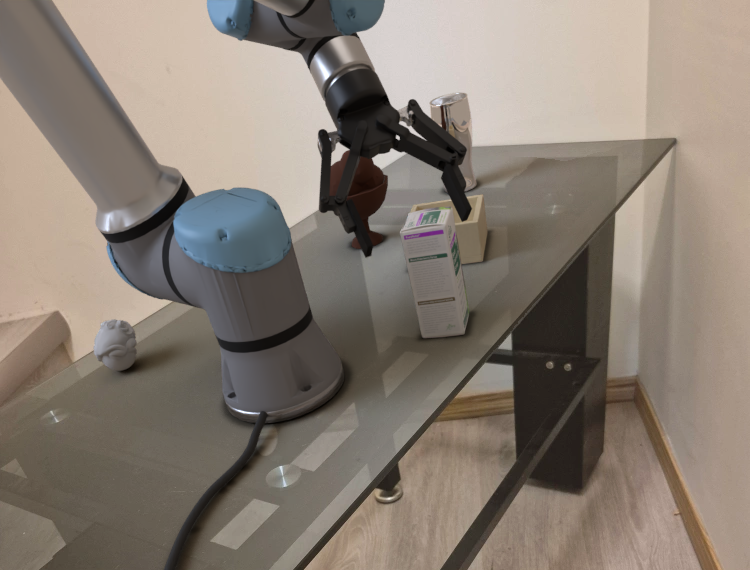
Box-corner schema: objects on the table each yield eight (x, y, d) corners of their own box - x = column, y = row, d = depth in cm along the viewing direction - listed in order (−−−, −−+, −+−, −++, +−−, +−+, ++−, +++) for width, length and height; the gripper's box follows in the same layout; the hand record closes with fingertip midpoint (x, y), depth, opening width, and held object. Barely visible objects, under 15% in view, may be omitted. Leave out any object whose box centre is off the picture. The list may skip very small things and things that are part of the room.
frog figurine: (155, 354, 109) (136, 311, 104) (129, 380, 104) (107, 336, 100) (123, 354, 111) (102, 312, 107) (96, 380, 106) (73, 337, 102)
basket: (482, 261, 109) (477, 221, 105) (409, 271, 112) (402, 232, 108) (487, 232, 117) (483, 193, 113) (419, 241, 120) (412, 204, 116)
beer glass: (434, 190, 138) (421, 102, 128) (466, 177, 139) (455, 90, 130) (453, 197, 132) (440, 107, 123) (486, 184, 134) (476, 94, 124)
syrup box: (465, 335, 93) (448, 222, 84) (420, 339, 95) (398, 229, 86) (470, 313, 98) (454, 204, 88) (426, 318, 99) (406, 211, 90)
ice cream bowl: (400, 224, 128) (382, 132, 119) (395, 249, 120) (376, 153, 110) (341, 234, 130) (319, 145, 121) (332, 260, 122) (308, 166, 112)
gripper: (432, 79, 100) (498, 216, 98) (260, 136, 96) (326, 280, 94) (443, 37, 92) (515, 184, 90) (257, 97, 88) (328, 252, 86)
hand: (418, 233), depth 92 cm, fingers open, 13 cm apart
